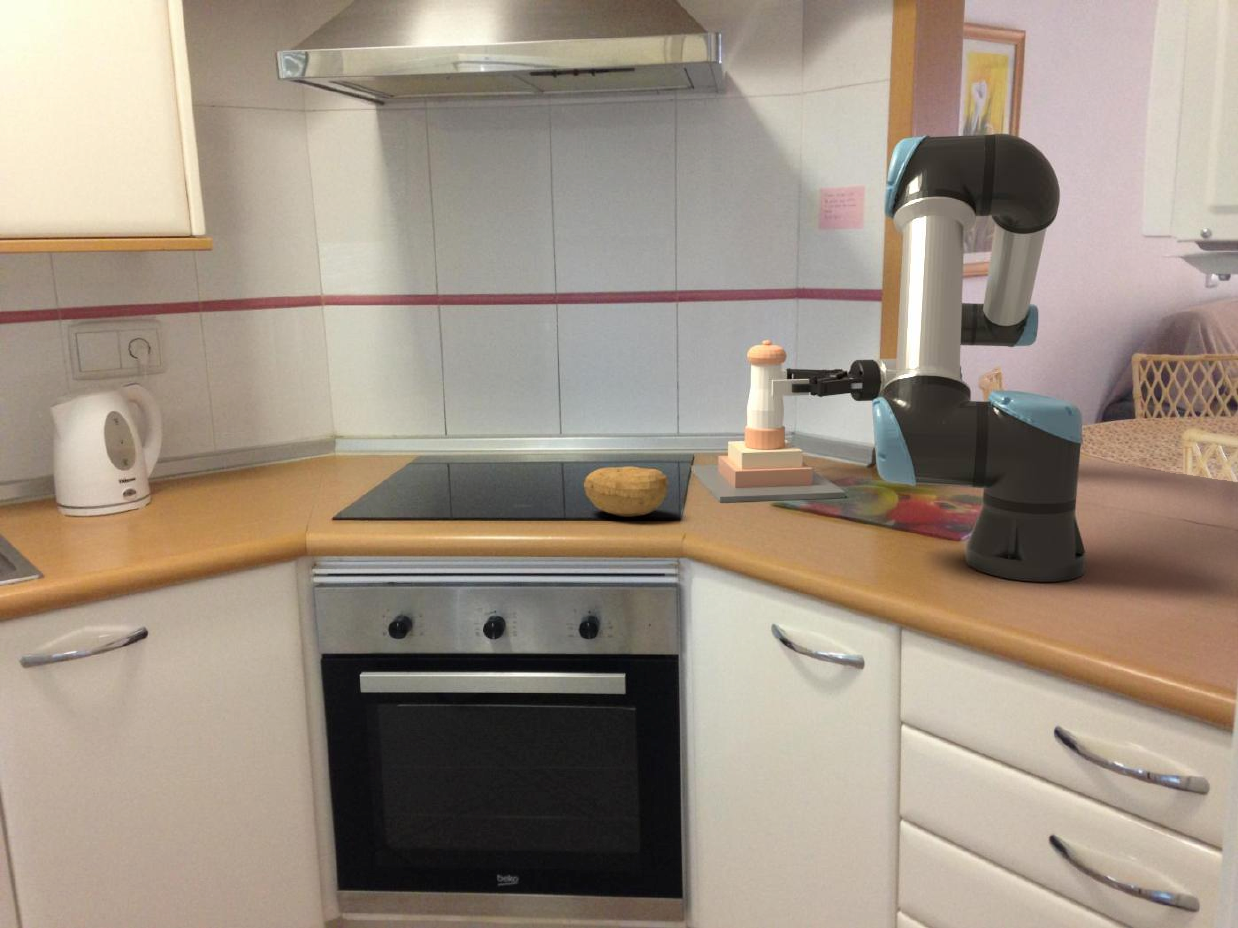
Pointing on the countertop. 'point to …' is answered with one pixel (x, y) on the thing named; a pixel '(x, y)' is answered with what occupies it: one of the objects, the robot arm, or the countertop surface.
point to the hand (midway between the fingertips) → (761, 383)
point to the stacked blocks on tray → (764, 476)
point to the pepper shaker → (765, 398)
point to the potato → (626, 490)
